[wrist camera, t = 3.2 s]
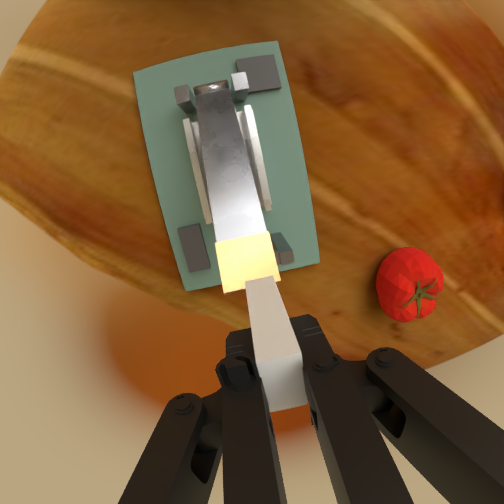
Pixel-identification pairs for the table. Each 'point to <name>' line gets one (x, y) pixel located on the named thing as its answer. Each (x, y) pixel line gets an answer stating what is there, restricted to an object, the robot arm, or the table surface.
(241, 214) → the silver flat strip
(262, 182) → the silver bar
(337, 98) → the table surface
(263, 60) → the board
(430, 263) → the tomato
